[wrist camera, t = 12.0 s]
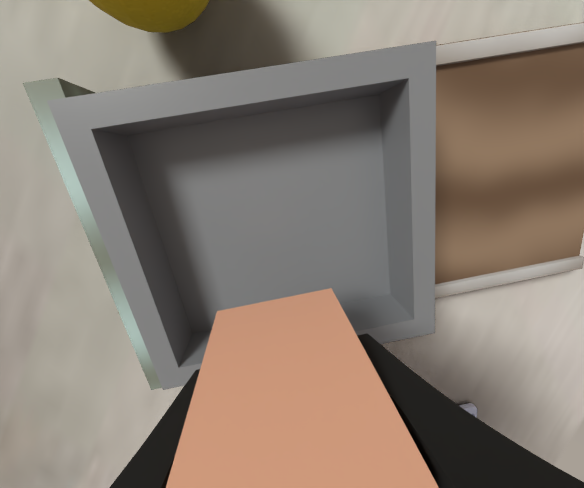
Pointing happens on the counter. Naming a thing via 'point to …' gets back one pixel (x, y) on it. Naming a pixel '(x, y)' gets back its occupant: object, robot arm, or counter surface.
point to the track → (457, 164)
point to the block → (292, 406)
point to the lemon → (153, 13)
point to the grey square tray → (265, 194)
